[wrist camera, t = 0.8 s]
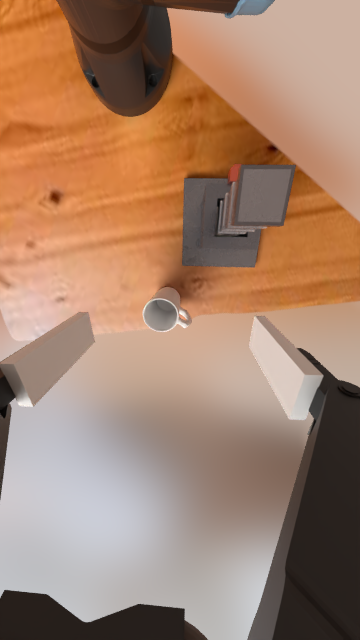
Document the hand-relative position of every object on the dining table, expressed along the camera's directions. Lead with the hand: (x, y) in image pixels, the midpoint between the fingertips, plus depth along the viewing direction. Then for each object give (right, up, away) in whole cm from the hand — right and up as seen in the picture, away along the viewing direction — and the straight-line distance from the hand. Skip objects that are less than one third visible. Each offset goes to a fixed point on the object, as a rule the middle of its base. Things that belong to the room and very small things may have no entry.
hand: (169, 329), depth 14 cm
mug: (-1, +5, +31) cm, 31 cm away
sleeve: (+10, +21, +24) cm, 33 cm away
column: (+9, +20, +22) cm, 31 cm away
